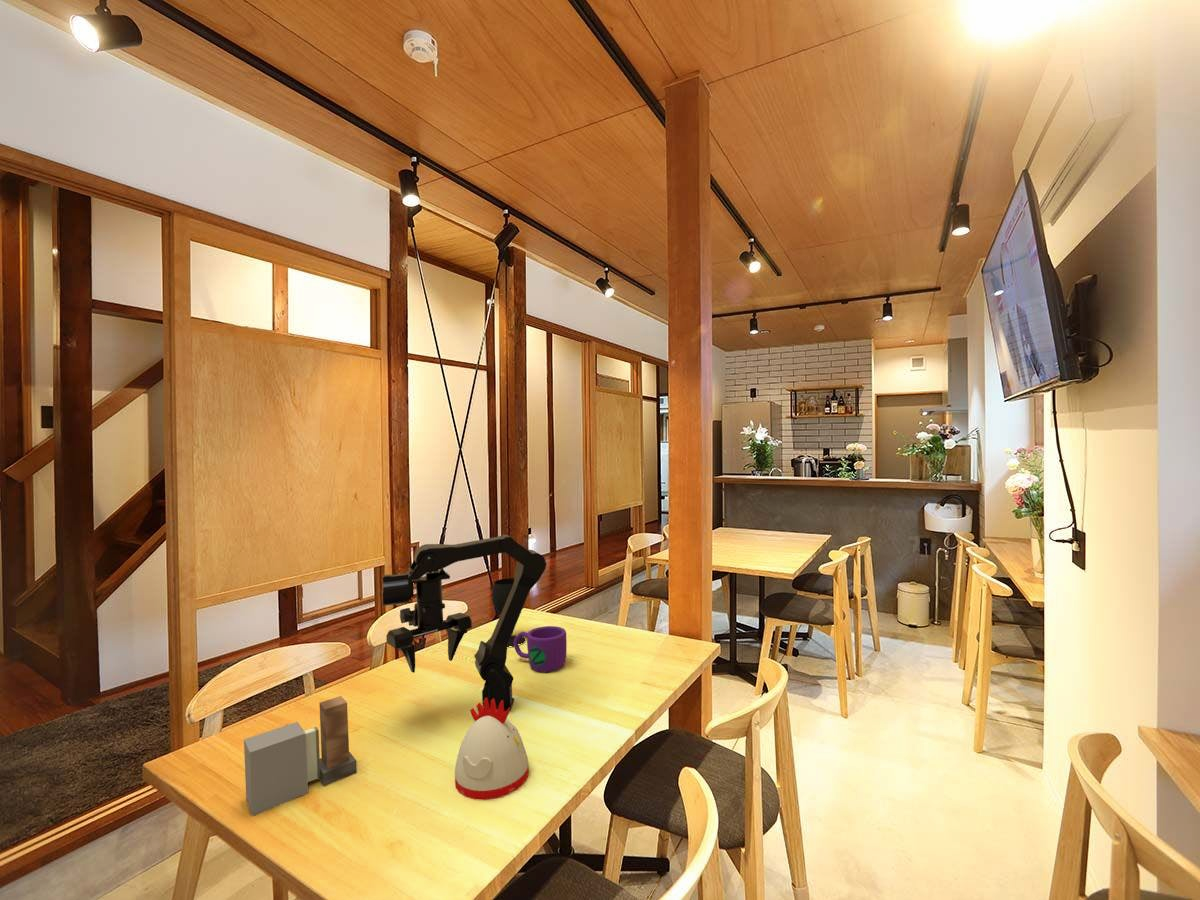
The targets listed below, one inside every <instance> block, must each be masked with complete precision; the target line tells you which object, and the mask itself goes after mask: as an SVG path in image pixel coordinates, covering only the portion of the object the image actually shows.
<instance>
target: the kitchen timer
mask: <svg viewBox="0 0 1200 900" xmlns="http://www.w3.org/2000/svg"><path fill="white" fill-rule="evenodd" d="M476 708H477V711H476V709H475V708H474V707H472V708H470V710H469V711H470V714H471V716H472V719H473V721H474V722H473V723H472V724H471V725H470V726H469V728H468V730H467V731H466V733H465V735H464V737H463V739H462V740H461V743H460V746H459V749H458V754H457V757H456V761H455V762H456V763H455V766H454V767H455V768H454V783H455V789H456V790H457V792H458V793H459V794H460V795H462V796H464V797H466V798H469V799H472V800H483V801H487V800H493V799H498V798H502V797H505V796H507V795H509V794H511V793H513V792H515V791H517V790H518V789H519V788H520V787H522V786H523V785H524V783H525V782H526V781H527V778H528V776H529V772H530V770H529V768H530V767H529V759H528V755H527V751H526V748H525V745H524V742H523V739H522V737H521V735H520V732H519V730H518V728H517V727H516V726H515V725H514V724H513V723H512V722H511V721H510V720H509V719H508V716H509V714H510V712H511V711H510V707H509V708H508V710H507V711H506V712H505V711H504V703H503V700H502V701H501V702H500V704H499V708H498V710H497V708H496V704H495V700H494V698H493V699H492V700H491V706H490V707H489V703H488V699H487V697H486V698H485V699H484V704H483V703H482V704H481V702H478V703H476ZM509 711H510V712H509ZM477 712H478V713H477Z"/></svg>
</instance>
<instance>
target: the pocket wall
mask: <svg viewBox="0 0 1200 900" xmlns="http://www.w3.org/2000/svg"><path fill="white" fill-rule="evenodd" d="M304 731H305V730H304V729H303V727H302V726H301V725H300V723H299V722H298V721H296V722H292V723H289V724H286V725H283V726H280V727H277V728H274V729H271V730H267V731H265V732H262V733H259V734H256V735H253V736H250V737H247V738H244V739H243V746H244V747H243V751H244V754H243V756H244V774H245V775H244V779H245V800H246V803H247V806H248V808H249V811H250V813H251V816H252V817H254V816H257V815H259V814H261V813H264V812H266V811H268V809H269V810H271V809H273V808H275V806H276V807H278V806H280V804H281V805H282V804H286V803H287V802H290V801H293V800H294V799H297V797H298V798H300V797H302V796H304V795H308V794H309V788H308V787H309V786H308V785H309V784H308V783H309V782H307V757H306V733H305V732H304ZM270 808H271V809H270Z"/></svg>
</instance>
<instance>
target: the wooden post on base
mask: <svg viewBox="0 0 1200 900" xmlns="http://www.w3.org/2000/svg"><path fill="white" fill-rule="evenodd" d="M318 704H319V720H320V722H319V725H320V730H319V731H320V750H321V758H320V777H319V778H318V780H319V779H320V780H319V781H320V783H321V784H322V786H323V787H326V786H329V785H331V784H334V783H335V782H338V781H340V780H342V779H345V778H348V777H350V776H353V775H355V774H357V773H358V771H357V770H358V769H357V765H358V764H357V760H356V758H355V757H354V756H353V755H352V753H351V752H350V743H349V742H350V740H349V739H350V738H349V717H348V712H349V711H348V701H347V700H345V699H344V697H343V696H341V695H340V696H336V697H333V698H329V699H327V700H324V701H321V702H319V703H318Z"/></svg>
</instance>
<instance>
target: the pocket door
mask: <svg viewBox="0 0 1200 900" xmlns="http://www.w3.org/2000/svg"><path fill="white" fill-rule="evenodd" d="M319 731H320V730H319V728H318V727H317V726H315V727H312V728H309V729H306V730H304V732H305V733H306V757H307V782H308V783H309V782H311V781H314V780H317V779H319V777H320V733H319Z"/></svg>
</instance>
